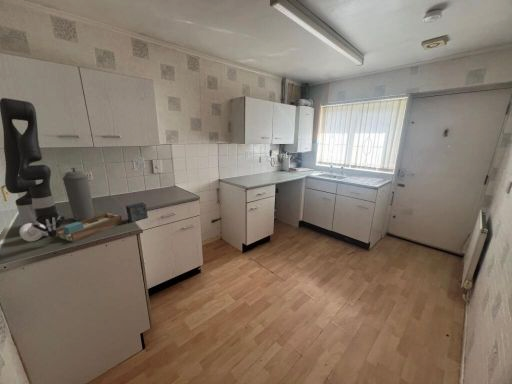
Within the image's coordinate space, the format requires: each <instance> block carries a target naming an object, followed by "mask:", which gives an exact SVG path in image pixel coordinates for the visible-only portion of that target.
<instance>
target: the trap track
mask: <svg viewBox="0 0 512 384" xmlns="http://www.w3.org/2000/svg"><path fill="white" fill-rule="evenodd" d="M79 222H80V223H83V227H84V229H81V230H78V231H75V232H73V233H71V234H70V235H69V234H65V233H64V230H63V227H58V228H56V233H57V238H59V239H62V240H65V241H69V242H72V243H75V242H78V241H80V240H83V239H85V238H88V237H91V236H94V235H96V234H98V233H102V232H103V231H106V230H109V229H112V228H114V227H117V226H119V225H121V224H123V219H122V215H118V214H113V213H109V212H108V213H107V212H104V213H102V214H99V215H96V216H95V215H94V217H92V218H89V219H86V220H83V221H79Z"/></svg>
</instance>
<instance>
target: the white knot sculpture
mask: <svg viewBox="0 0 512 384" xmlns="http://www.w3.org/2000/svg"><path fill="white" fill-rule="evenodd" d="M39 224H40V223H39ZM31 225H32V223H28V224H25V225H23V224H22V226H21V227H20V228H19V230H18V231H19V232H18V233H19V235H20V237H21V238H22V239H23V240H24V241H26V242H37V241H39V240H40V239H41V238H42V237H43V236H44V237H49V236H48V233H47V231H46V232H44V231H41V230H39V229H37V228H35V227H33V226H31ZM40 227H42V228H44V229H46V228H45V227H44V225H42V224H40ZM28 229H29V231H28ZM28 232H29V233H28Z"/></svg>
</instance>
